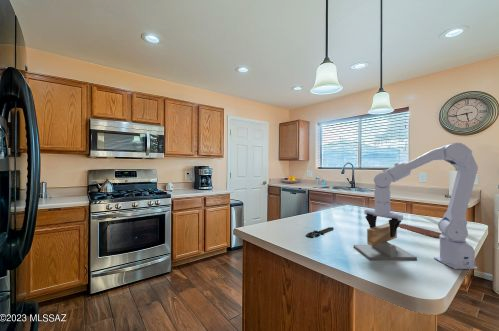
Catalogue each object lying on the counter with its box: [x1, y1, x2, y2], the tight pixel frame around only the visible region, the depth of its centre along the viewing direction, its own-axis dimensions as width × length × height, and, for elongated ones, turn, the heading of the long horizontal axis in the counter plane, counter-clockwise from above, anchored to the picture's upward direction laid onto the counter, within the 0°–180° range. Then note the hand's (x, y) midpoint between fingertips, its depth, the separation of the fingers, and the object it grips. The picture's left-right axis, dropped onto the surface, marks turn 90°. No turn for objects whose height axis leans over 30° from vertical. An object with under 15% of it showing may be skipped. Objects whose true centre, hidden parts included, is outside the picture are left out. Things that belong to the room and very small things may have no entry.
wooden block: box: [366, 222, 398, 246], centre depth 95 cm, size 3×18×6 cm, turn 123°
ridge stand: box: [353, 241, 418, 261], centre depth 95 cm, size 14×18×5 cm
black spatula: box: [305, 226, 335, 239], centre depth 125 cm, size 25×6×1 cm, turn 127°
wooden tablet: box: [398, 223, 442, 239], centre depth 127 cm, size 27×10×2 cm, turn 15°
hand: (382, 234), depth 95 cm, fingers open, 7 cm apart
